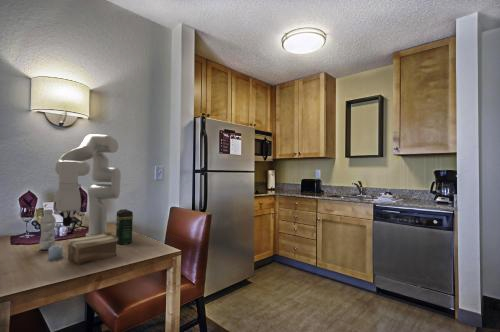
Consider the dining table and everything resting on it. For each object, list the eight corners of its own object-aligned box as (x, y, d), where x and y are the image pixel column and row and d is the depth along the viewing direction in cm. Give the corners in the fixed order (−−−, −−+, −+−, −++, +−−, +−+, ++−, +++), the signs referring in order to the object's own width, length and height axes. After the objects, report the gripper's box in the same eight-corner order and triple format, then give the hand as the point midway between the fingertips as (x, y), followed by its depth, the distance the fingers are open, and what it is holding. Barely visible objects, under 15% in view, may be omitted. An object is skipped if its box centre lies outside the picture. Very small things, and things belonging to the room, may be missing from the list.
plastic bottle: (46, 251, 130) (47, 211, 130) (35, 250, 131) (36, 210, 132) (58, 247, 136) (59, 209, 137) (47, 246, 138) (48, 208, 138)
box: (68, 258, 120) (68, 243, 121) (104, 250, 133) (104, 236, 133) (79, 264, 113) (79, 248, 113) (116, 255, 126) (116, 241, 126)
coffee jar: (133, 243, 148) (134, 210, 148) (118, 245, 143) (119, 211, 143) (129, 239, 155) (129, 208, 155) (114, 241, 150) (115, 209, 150)
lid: (67, 243, 120) (67, 236, 121) (104, 236, 134) (105, 230, 134) (78, 248, 113) (78, 241, 113) (117, 240, 126) (117, 234, 126)
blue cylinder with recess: (46, 258, 121) (47, 247, 121) (59, 255, 125) (60, 245, 125) (50, 260, 118) (51, 249, 118) (64, 257, 122) (64, 247, 122)
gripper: (82, 186, 132) (80, 222, 132) (46, 187, 120) (44, 227, 119) (89, 186, 128) (87, 224, 127) (52, 187, 116) (51, 229, 115)
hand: (66, 225), depth 123 cm, fingers closed
